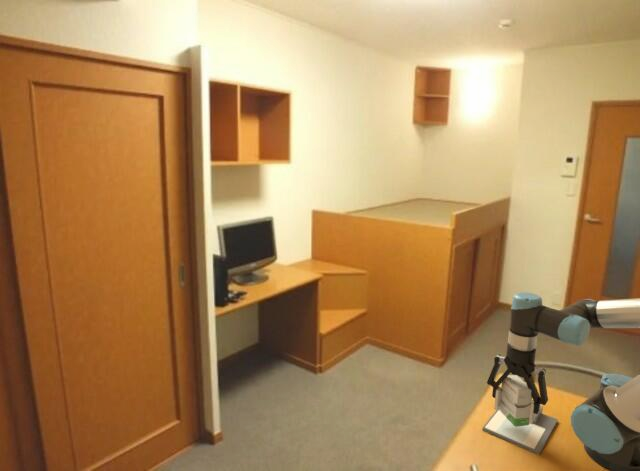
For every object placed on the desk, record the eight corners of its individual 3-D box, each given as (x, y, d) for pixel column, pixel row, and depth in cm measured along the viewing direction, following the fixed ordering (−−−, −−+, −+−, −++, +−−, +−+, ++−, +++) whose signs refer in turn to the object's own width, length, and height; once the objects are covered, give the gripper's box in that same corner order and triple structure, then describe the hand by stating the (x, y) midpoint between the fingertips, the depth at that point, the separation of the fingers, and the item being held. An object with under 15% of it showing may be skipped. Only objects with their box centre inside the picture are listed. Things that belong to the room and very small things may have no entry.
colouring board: (557, 421, 134) (558, 412, 133) (539, 455, 119) (540, 444, 119) (505, 401, 144) (506, 393, 144) (482, 430, 130) (483, 420, 129)
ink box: (529, 426, 124) (534, 389, 122) (514, 427, 124) (518, 390, 121) (512, 408, 133) (516, 373, 130) (498, 409, 132) (501, 374, 130)
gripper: (567, 353, 119) (557, 424, 124) (488, 330, 133) (482, 394, 138) (560, 363, 114) (550, 437, 118) (479, 338, 128) (473, 405, 132)
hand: (513, 414), depth 128 cm, fingers closed on ink box, 9 cm apart
